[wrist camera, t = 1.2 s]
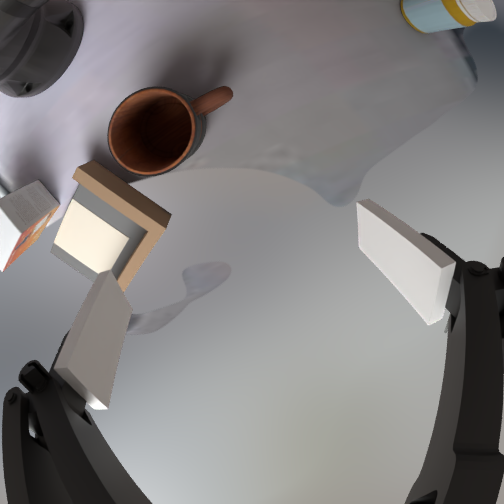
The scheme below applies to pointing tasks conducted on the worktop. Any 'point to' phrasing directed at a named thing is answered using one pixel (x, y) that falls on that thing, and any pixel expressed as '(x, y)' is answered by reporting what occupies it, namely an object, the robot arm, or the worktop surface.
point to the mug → (160, 128)
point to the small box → (23, 219)
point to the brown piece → (108, 226)
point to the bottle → (446, 13)
